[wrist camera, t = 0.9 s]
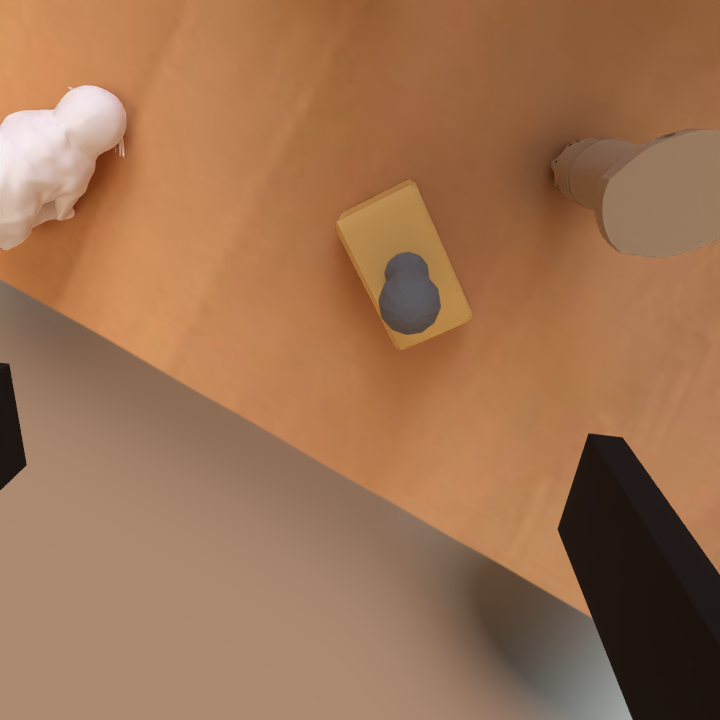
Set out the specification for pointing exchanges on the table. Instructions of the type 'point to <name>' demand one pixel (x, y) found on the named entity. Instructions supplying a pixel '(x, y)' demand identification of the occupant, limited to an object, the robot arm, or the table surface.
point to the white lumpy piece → (53, 158)
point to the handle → (647, 190)
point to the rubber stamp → (403, 265)
